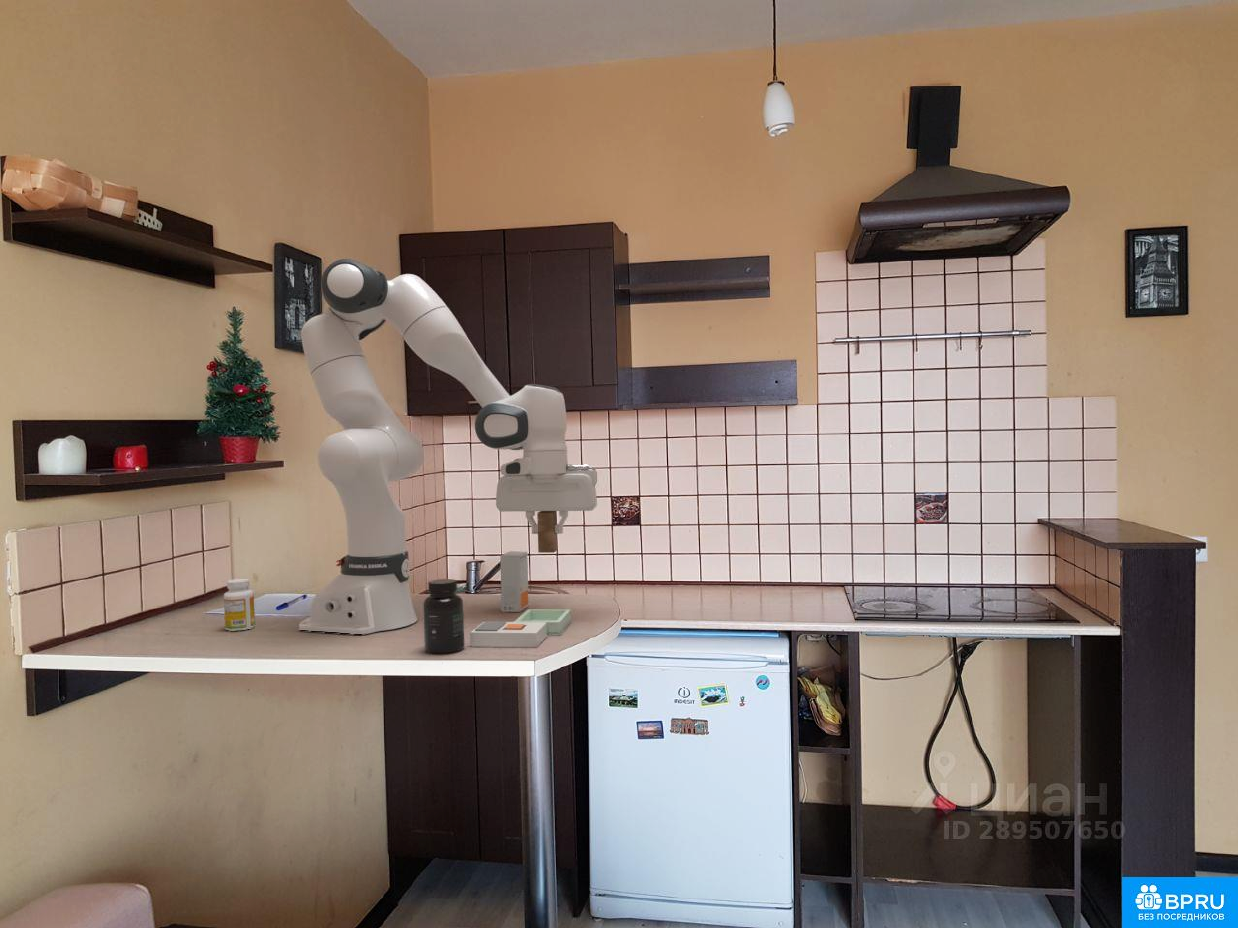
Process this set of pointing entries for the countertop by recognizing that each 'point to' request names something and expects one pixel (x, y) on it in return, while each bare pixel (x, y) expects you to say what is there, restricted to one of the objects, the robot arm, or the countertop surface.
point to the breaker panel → (508, 635)
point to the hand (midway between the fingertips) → (547, 533)
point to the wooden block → (547, 532)
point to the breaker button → (514, 627)
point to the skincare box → (514, 581)
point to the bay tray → (548, 619)
